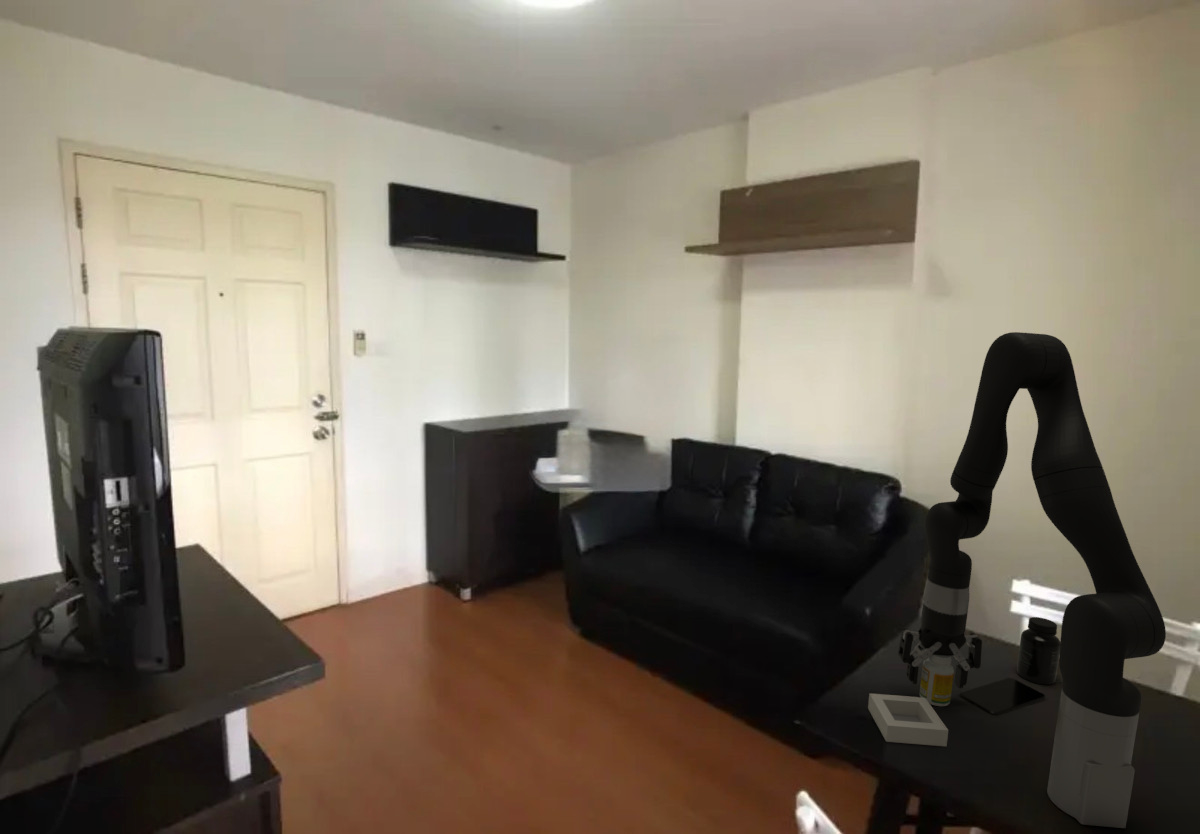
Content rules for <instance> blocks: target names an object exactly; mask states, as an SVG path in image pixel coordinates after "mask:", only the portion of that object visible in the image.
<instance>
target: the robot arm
mask: <svg viewBox="0 0 1200 834" xmlns="http://www.w3.org/2000/svg"><path fill="white" fill-rule="evenodd" d="M981 369H982V370H981V374H980V379H979V384H978V387H977V393H976V397H975V402H974V408H973V412H972V416H971V421H970V423H969V424H970V425H969V429H968V433H967V435H966V439H965V442H964V444H963V445H962V446H963V447H962V449H961V452H960V454H959V456H958V458H957V461H956V464H955V466H954V468H953V471H952V473H951V476H950V480H949V481H950V486H951V488H952V489H953V490H954V491H955V492H956V493H958V496H957V498H956V500H954V501H944V502H943V501H942V502H938V503H935V504H933V505H932V506H931V507H930V508H929V509H928V511H927V512H926V517H925V519H924V530H925V537H926V544H927V549H928V553H929V562H928V563H929V564H928V571H927V578H926V579H927V580H926V583H925V586H924V587H925V588H924V590H923V591H924V592H923V596H922V601H923V602H922V610H921V617H920V618H921V620H920V628H919V629H918V631H914V630H909V628H907V627H903V628H902V630H901V635H900V640H899V647H898V652H897V655H898V657H899V659H900V660H901V661H902V662H903V663H904V664H906V665H907V666H906V677H907V680H909V681H910V683H911V684H912V685H917V684H918V677H919V668H920V667H919V665H920V664H922V663H923V662H924V660H926V659H928V658H929V657H930V656H931V655H932V654H934V655H947V656H952V657H954V659H955V661H956V662H957V663H958V664H956V666H955V672H954V685H955V686H956V687H957V688H958V689H963V688H964V686H966V685H967V683H968V682H967V681H968V676H969V675H968V674H969V671H970V670H971V669H977V670H978V669H979V668H981V665H982V664H981V662H982V649H983V648H982V647H983V640H982V639H981V638H980V637H979V636H978V635H977V634H976V633H975V632H971V633H970V634H967V635H966V634H965V633H966V630H967V629H966V627H967V620H968V613H969V603H970V584H971V576H972V568H973V561H972V558H971V556H970V555H969V554H968V553H967V552H965V551H963V550H960V545H959V544H960V540H967V539H973V538H976V537H978V536H979V535H981V534H982V533H983V531H985V529H986V527H987V526H988V524H989V521H990V516H991V510H992V503H993V502H992V501H993V492H994V489H995V488H996V485H997V483H998V481H999V479H1000V476H1001V474H1002V472H1003V470H1004V467H1005V465H1006V463H1007V457H1008V451H1009V444H1008V434H1007V433H1008V432H1007V419H1008V413H1009V410H1010V407H1011V405H1012V403H1013V401H1014V398H1015V397H1016V395H1017V393H1019V390H1020V389H1021V390H1022V389H1025V390H1027V391H1028V394H1029V395H1030V398H1031V401H1032V405H1033V407H1034V408H1033V409H1034V410H1035V413H1036V414H1035V415H1036V418H1037V432H1036V433H1037V434H1036V438H1035V441H1034V445H1033V450H1032V456H1031V461H1030V462H1031V463H1030V465H1031V466H1030V467H1031V469H1030V470H1031V475H1032V481H1033V482H1034V485H1035V489H1036V493H1037V496H1038V498H1039V501H1040V502H1039V503H1040V505H1041V508H1042V509H1043V511H1044V513H1045V515H1046V516H1047V518H1048V519H1049V521H1050V522H1051V523H1052V524H1053V525H1054V527H1055V528H1056V529H1057V530H1058V531H1059V532H1060V533H1061V534H1062V536H1063V537H1064V538H1065V539H1066V540H1067V541H1068V542H1069V543H1070V544H1071V545H1072V546H1073V547H1074V549H1075V550H1076V551H1077V553H1079V555H1080V557H1081V559H1082V560H1083V562H1084V564H1085V565H1086V567H1087V569H1088V572H1089V576H1090V577H1091V580H1092V583H1093V586H1094V590H1095V593H1090V594H1089V593H1088V594H1081V595H1078V596H1075V597H1074V598H1073V599H1071V600H1070V601H1069V602H1068V603H1067V606H1066V608H1065V610H1064V613H1063V616H1062V620H1061V630H1060V654H1059V661H1058V666H1059V670H1060V674H1061V678H1062V685H1061V686H1062V687H1061V691H1060V692H1061V693H1060V699H1059V706H1058V712H1057V713H1058V714H1057V719H1056V724H1055V725H1056V727H1055V731H1054V732H1055V733H1054V740H1053V741H1054V742H1053V746H1052V752H1051V753H1052V754H1051V755H1052V756H1051V759H1050V768H1049V769H1050V770H1049V776H1048V783H1047V788H1046V789H1047V790H1046V792H1047V796H1048V798H1049V799H1050V800H1051V802H1052V803H1053V804H1054V805H1055V806H1056V807H1057V808H1058V809H1060V811H1063V812H1064V813H1065V814H1067V815H1069V816H1071V817H1073V818H1074V819H1075V820H1077V822H1078V823H1079V824H1080V825H1084V826H1093V827H1094V826H1096V827H1106V828H1107V827H1108V828H1114V829H1115V828H1116V829H1119V828H1120V829H1126V827H1127V826H1126V825H1127V821H1128V815H1129V809H1130V803H1131V802H1130V801H1131V796H1132V791H1133V786H1134V785H1133V784H1134V777H1135V772H1136V771H1135V768H1134V766H1132V758H1133V752H1134V748H1135V747H1134V746H1135V740H1136V735H1137V729H1138V724H1139V716H1140V710H1141V704H1142V693H1141V691H1140V690H1139V689H1138V687H1137V686H1136V685H1135V684H1134V683H1133V682H1131V681H1130V680H1128V679H1126V678H1124V669H1125V668H1124V667H1125V666H1124V665H1125V660H1127V659H1128V660H1129V659H1137V658H1145V657H1150V656H1153V655H1155V654H1158V652H1160V651H1161V650H1162V648H1163V646H1164V645H1165V642H1166V636H1167V631H1166V625H1165V621H1164V617H1163V615H1162V612H1161V609H1160V608H1159V607H1160V606H1159V605H1158V603H1157V601H1156V599H1155V596H1154V595H1153V593H1152V591H1151V588H1150V587H1149V584H1148V582H1147V580H1146V578H1145V576H1144V574H1143V572H1142V569H1141V568H1140V565H1139V564H1138V561H1137V558H1136V557H1135V555H1134V552H1133V550H1132V547H1131V544H1130V541H1129V539H1128V535H1127V534H1126V531H1125V529H1124V525H1123V523H1122V520H1121V518H1120V515H1119V512H1118V509H1117V506H1116V504H1115V501H1114V498H1113V494H1112V490H1111V487H1110V484H1109V482H1108V479H1107V476H1106V473H1105V470H1104V467H1103V465H1102V462H1101V459H1100V457H1099V453H1098V452H1097V449H1096V446H1095V443H1094V440H1093V437H1092V434H1091V431H1090V427H1089V425H1088V422H1087V419H1086V415H1085V413H1084V409H1083V406H1082V401H1081V397H1080V393H1079V389H1078V382H1077V378H1076V373H1075V369H1074V364H1073V360H1072V357H1071V355H1070V352H1069V350H1068V348H1067V346H1066V344H1065V343H1064V342H1063V341H1062V340H1060V339H1059V338H1057V337H1056V336H1053V335H1049V334H1045V333H1036V332H1034V333H1032V332H1016V331H1015V332H1008V333H1006V332H1005V333H1004V334H1002V335H999V336H998V337H997V338H996V339H995V340H994V341H993V342H992V343H991V344H990V346H989V348H988V349H987V353H986V355H985V358H984V361H983V366H982V368H981ZM917 639H918V640H919V641H918V643H917V644H916V645H915V646H914V648H913V650H912V646H913V644H915V643H916V640H917ZM965 644H967V646H968V651H967V652H968V655H967V658H965V657H964V655H963V653H962V652H961V651H960V649H961V648H962V647H963V646H964V645H965ZM911 650H912V651H911Z"/></svg>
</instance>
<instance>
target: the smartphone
mask: <svg viewBox="0 0 1200 834" xmlns="http://www.w3.org/2000/svg"><path fill="white" fill-rule="evenodd" d="M958 697H960V698H961V699H963V700H965V701H966V702H968V703H970V704H971V705H974V706H976V708H979V709H980V710H982V711H984V712H985V713H987V714H989V715H992V716H1001V715H1003V714H1007V713H1009V712H1013V711H1016V710H1019V709H1022V708H1025V707H1027V706H1031V705H1034V704H1038V703H1039V702H1042V701H1045V700H1046V699H1047V696H1046V694H1044V693H1042V692H1040V691H1039V690H1037V689H1035V688H1033V687H1031V686H1029V685H1026V684H1025V683H1023V682H1020V681H1019V680H1017V679H1015V678H1014V677H1013V678H1012V677H1005V678H1002V679H998V680H996V681H992V682H989V683H986V684H982V685H979V686H976V687H973V688H969V689H966V690H964V691H963V690H962V691H960V692H959V693H958Z"/></svg>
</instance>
